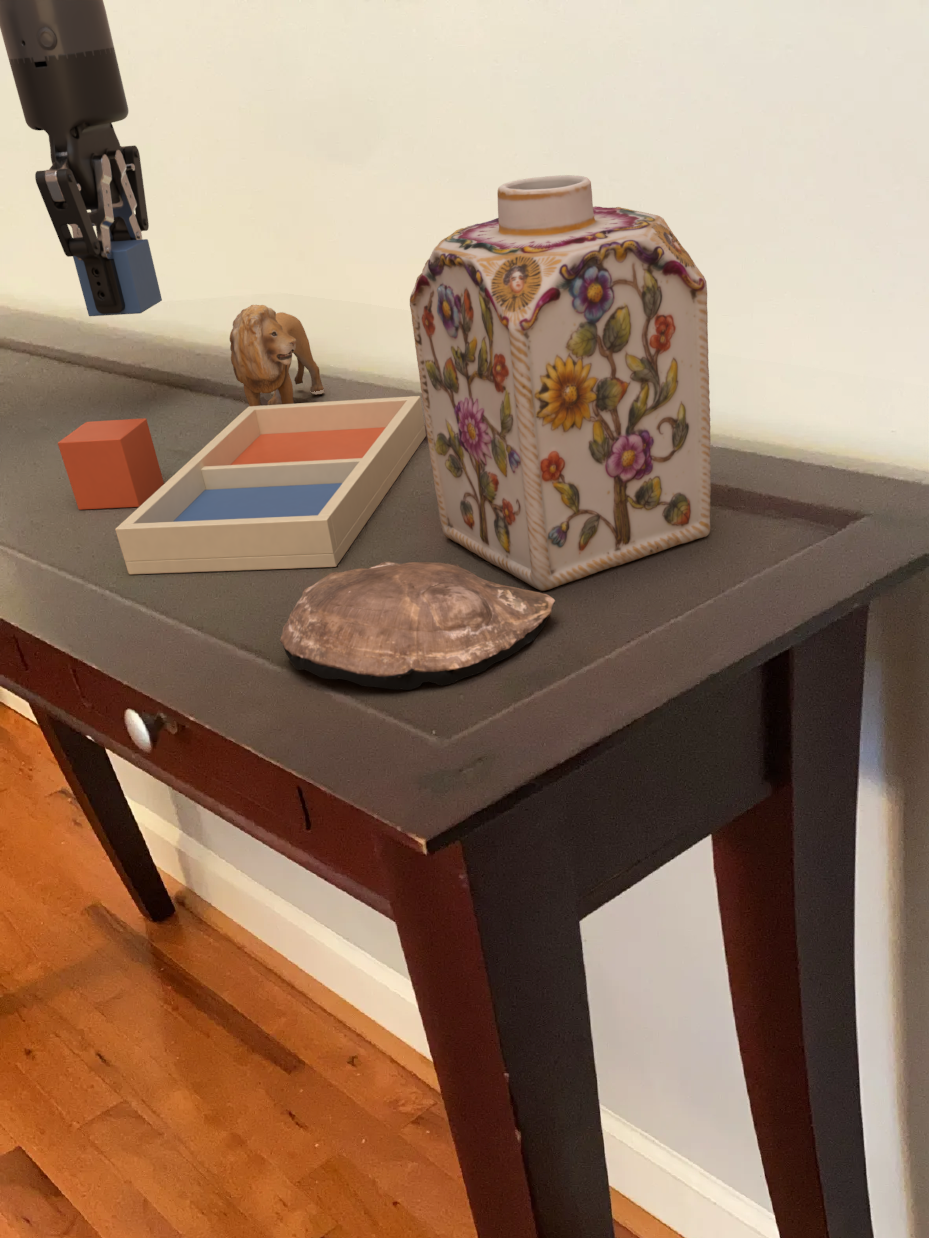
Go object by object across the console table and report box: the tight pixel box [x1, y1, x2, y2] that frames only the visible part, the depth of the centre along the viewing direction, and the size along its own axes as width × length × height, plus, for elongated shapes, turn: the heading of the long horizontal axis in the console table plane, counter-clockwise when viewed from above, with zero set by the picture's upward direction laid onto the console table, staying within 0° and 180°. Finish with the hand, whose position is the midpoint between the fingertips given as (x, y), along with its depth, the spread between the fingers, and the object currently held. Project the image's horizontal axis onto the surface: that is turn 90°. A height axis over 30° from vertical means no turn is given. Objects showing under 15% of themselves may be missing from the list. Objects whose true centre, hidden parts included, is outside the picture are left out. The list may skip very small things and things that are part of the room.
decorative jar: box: [409, 174, 712, 592], centre depth 68 cm, size 12×12×18 cm
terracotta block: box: [57, 418, 165, 511], centre depth 87 cm, size 4×4×4 cm
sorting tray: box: [115, 395, 427, 575], centre depth 83 cm, size 13×24×3 cm, turn 171°
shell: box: [279, 561, 556, 691], centre depth 63 cm, size 12×13×4 cm
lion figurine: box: [229, 304, 325, 407], centre depth 97 cm, size 15×5×9 cm, turn 2°
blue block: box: [72, 238, 163, 317], centre depth 101 cm, size 4×4×4 cm
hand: (124, 303), depth 102 cm, fingers closed on blue block, 4 cm apart
